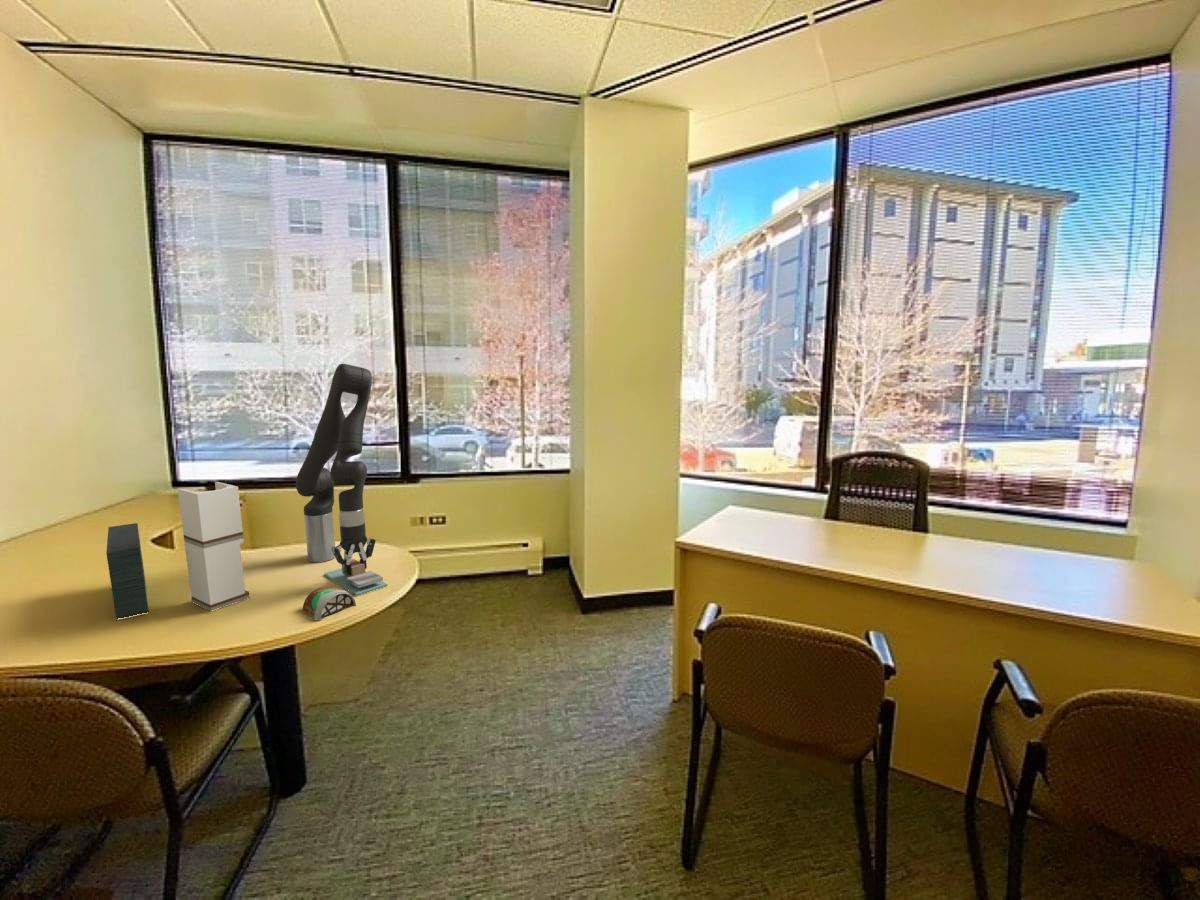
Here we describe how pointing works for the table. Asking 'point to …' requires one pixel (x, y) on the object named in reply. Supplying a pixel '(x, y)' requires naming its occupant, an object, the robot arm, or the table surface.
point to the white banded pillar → (213, 545)
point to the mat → (342, 581)
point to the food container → (326, 602)
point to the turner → (361, 575)
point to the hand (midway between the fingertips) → (355, 572)
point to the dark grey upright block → (126, 570)
